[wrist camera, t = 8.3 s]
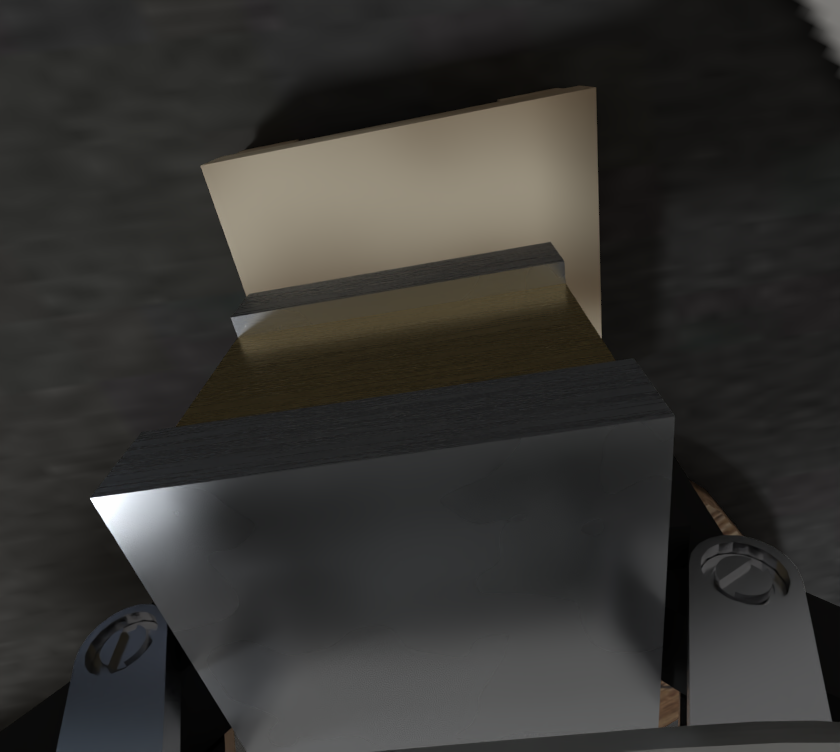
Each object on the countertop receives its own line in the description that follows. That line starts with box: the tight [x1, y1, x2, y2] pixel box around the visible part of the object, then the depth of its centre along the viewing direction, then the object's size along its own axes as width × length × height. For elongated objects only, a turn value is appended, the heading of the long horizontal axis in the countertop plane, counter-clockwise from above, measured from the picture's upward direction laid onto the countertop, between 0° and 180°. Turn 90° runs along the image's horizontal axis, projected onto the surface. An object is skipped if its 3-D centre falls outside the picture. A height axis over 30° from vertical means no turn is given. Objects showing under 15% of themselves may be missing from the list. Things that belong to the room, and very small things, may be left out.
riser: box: [201, 86, 602, 339], centre depth 21 cm, size 12×12×3 cm
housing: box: [90, 242, 675, 752], centre depth 10 cm, size 6×8×6 cm
